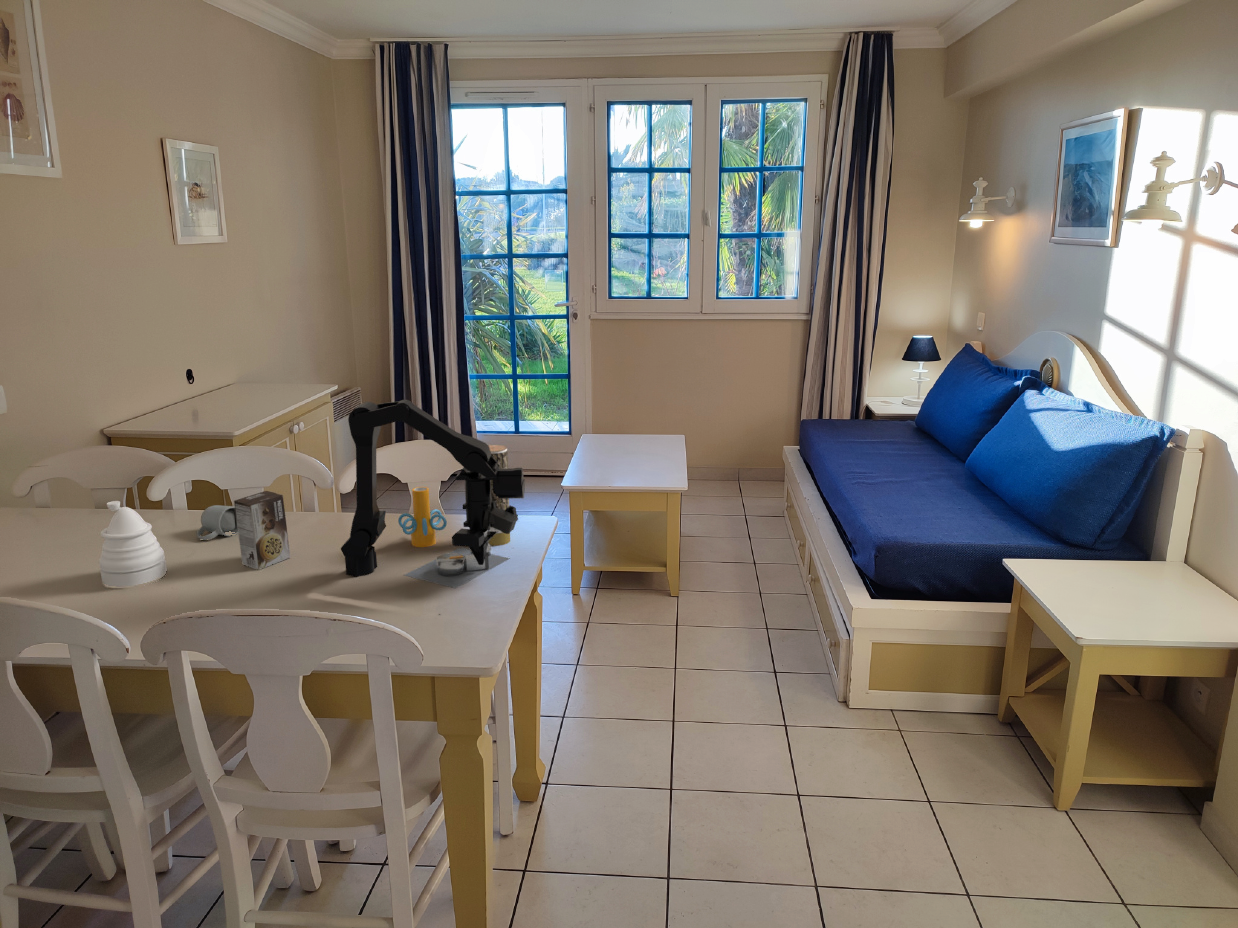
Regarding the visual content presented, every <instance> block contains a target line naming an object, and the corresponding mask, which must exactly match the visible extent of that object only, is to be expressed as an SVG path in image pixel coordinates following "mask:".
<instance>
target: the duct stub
mask: <svg viewBox="0 0 1238 928" xmlns="http://www.w3.org/2000/svg"><path fill="white" fill-rule="evenodd" d="M491 550H492V546H490V544H489V543H488V547H487V551H486V553H487V555H488V556H490V555H491V554H492V553H491ZM470 552H471V554H473V553H472V551H471V550H470Z"/></svg>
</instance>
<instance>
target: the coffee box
mask: <svg viewBox="0 0 1238 928" xmlns="http://www.w3.org/2000/svg"><path fill="white" fill-rule="evenodd" d="M233 504H234V507H235V512H236V519H237V527H238V533H237V534H238V540H239V548H240V555H241V564H243V566H244V565H246V566H245V567H248V566H249V567H248V568H251V569H254V570H257V569H260V570H262V568H263V569H265V568H268V567H271V566H273V565H275V564H278V563H280V562H282V561H285V560H288V559H290V558H291V552H290V544H289V542H290V541H289V533H288V527H287V525H288V524H287V519H286V511H285V510H286V509H285V503H284V496H283V494H279V493H276V492H274V491H270V490H265V491H261V492H258V493H255V494H252V495H249V496H248V495H247V496H245V497H242V498H239V499H235V500H234V501H233ZM272 564H273V565H272ZM267 566H268V567H267Z"/></svg>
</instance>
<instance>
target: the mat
mask: <svg viewBox="0 0 1238 928" xmlns="http://www.w3.org/2000/svg"><path fill="white" fill-rule="evenodd" d="M449 553H459V554H462V555H464V556H465V555H471V552H470V548H467V547H461V546H459V547H458V548H457V549H455V550H453V551H450V552H449ZM510 559H511V558H509V557H504V556H502V555H501V556H500V555H497V554H492V553H491V555H490V556H488V561H489V569H480V570H472V571H467V570H465V572H464V573H462V574H459V575H455V576H443V575H440V574H438V573H437V560H436V559H433V560H432V561H430V562H428V563H425V564H423V565H421V566H419V567H417V568H415V569H413V570H411V571H410V572H407V573H405V574H404V576H405V577H410V578H413V579H417V580H421V581H424V582H428V583H433V584H436V585H440V586H441V585H442V586H444V587H449V588H453V589H458V588H459V587H461V586H463V585H464V584H466V583H468V582H470V581H472V580H474V579H476V578H477V577H479V576H481V575H483V574H485V573H486V572H489V571H490V570H492V569H494V568H496V567H498V566H500V565H501V564H503V563H505V562H507V561H508V560H510Z"/></svg>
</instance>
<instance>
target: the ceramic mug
mask: <svg viewBox="0 0 1238 928" xmlns="http://www.w3.org/2000/svg"><path fill="white" fill-rule="evenodd" d="M200 523H201V527H200V528H199V529H198V530H197V532H196V537H197V539H199V538H200V539H203V540H207V539H211V540H212V538H213V539H215V538H216V537H218V535H220V536H223V535H224V537H230V536H229V535H226V534H225V532H229V531H231V532H235V533H232V534H236V535H237V534H238V527H237V519H236V512H235V505H234V506H233V505H231V506H230V505H221V504H220V505H219V504H218V505H217V504H216V505H215V504H214V505H211V506H208V507H206V508H205V509H204V510H203V512H202V514H201V517H200ZM205 532H208V534H206V535H203V534H204V533H205ZM211 532H212V533H211ZM200 535H201V536H200ZM202 535H203V536H202Z"/></svg>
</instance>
